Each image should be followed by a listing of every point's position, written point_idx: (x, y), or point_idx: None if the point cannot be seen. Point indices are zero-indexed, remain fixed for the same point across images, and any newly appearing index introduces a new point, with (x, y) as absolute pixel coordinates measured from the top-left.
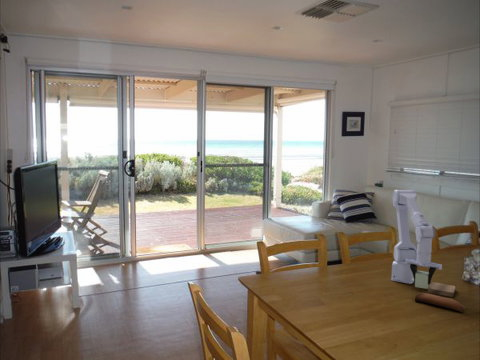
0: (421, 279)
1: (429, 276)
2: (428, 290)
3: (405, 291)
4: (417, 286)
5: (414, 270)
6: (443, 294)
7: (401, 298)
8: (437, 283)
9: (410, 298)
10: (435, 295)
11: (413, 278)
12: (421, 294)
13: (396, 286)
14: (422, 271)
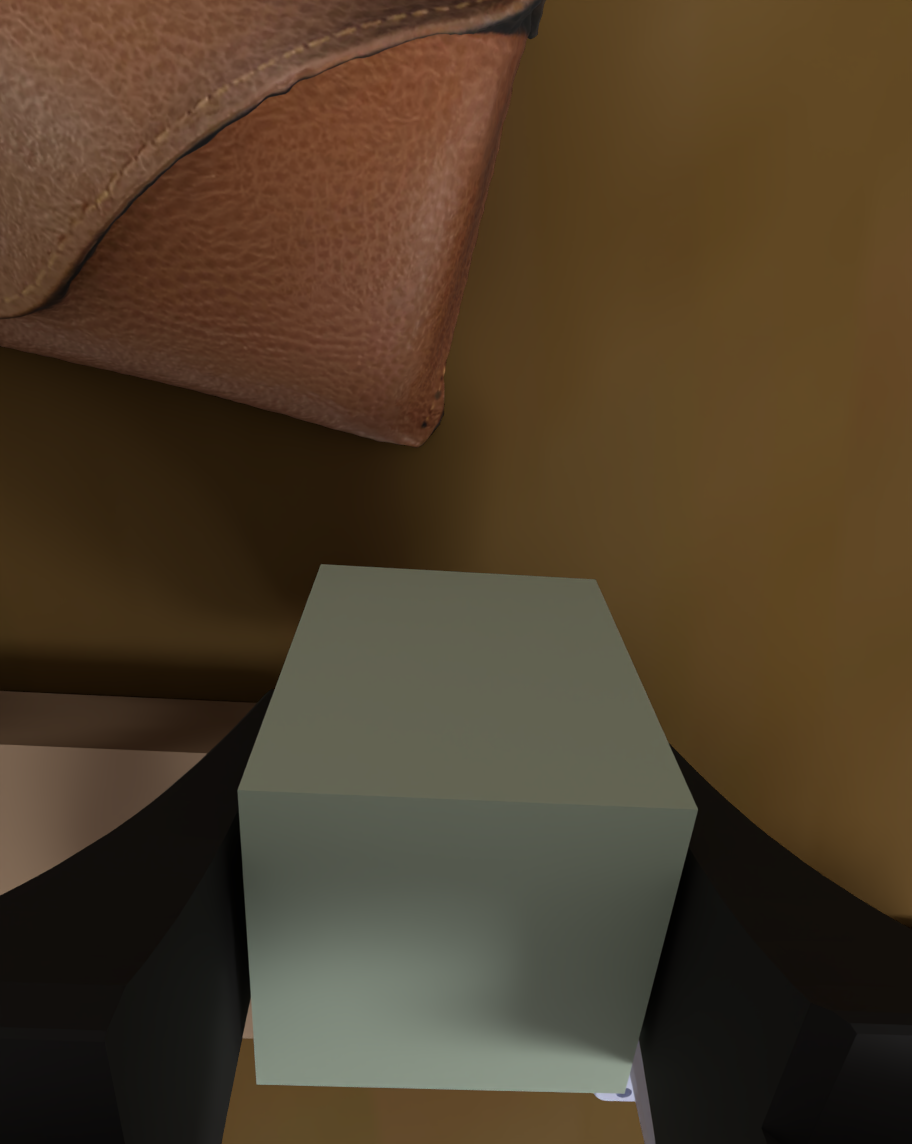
0: (464, 687)
1: (207, 813)
2: None
3: (732, 568)
4: (541, 581)
5: (782, 929)
6: (95, 705)
7: (842, 58)
8: (248, 1017)
9: (639, 185)
10: (51, 207)
11: (610, 1097)
12: (389, 2)
13: (875, 734)
14: (475, 1074)
